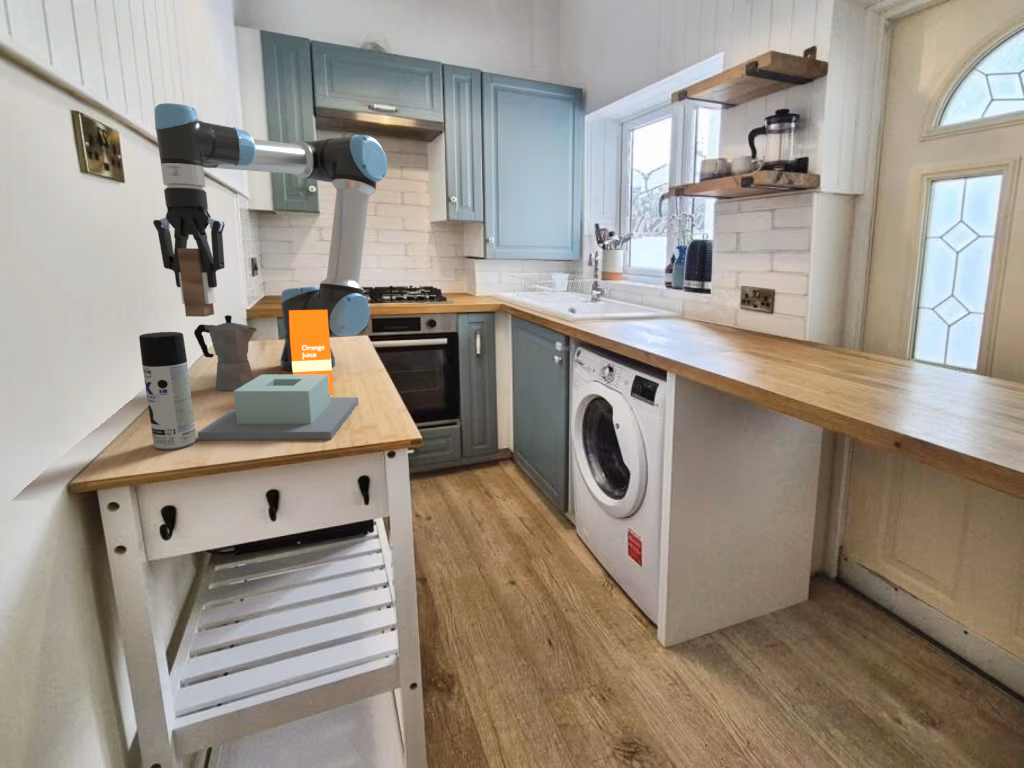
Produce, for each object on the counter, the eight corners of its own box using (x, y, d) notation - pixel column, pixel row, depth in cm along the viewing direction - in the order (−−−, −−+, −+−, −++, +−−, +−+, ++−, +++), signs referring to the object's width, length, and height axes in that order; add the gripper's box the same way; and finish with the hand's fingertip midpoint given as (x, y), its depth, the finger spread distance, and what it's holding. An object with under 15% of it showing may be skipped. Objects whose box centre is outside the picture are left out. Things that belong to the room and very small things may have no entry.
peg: (195, 314, 123) (187, 248, 119) (214, 314, 123) (206, 248, 119) (186, 316, 119) (177, 248, 115) (205, 316, 119) (197, 248, 115)
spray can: (151, 442, 101) (134, 333, 96) (193, 435, 106) (179, 330, 101) (157, 453, 96) (140, 338, 92) (201, 445, 101) (187, 334, 96)
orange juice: (296, 389, 140) (289, 308, 135) (333, 386, 143) (327, 307, 138) (294, 396, 133) (287, 312, 128) (333, 394, 135) (328, 311, 131)
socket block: (250, 403, 126) (247, 369, 124) (358, 403, 128) (356, 369, 126) (198, 440, 103) (193, 398, 101) (331, 439, 104) (328, 398, 102)
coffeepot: (270, 382, 146) (263, 313, 141) (252, 391, 136) (245, 318, 132) (211, 381, 146) (203, 312, 142) (190, 390, 137) (180, 317, 133)
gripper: (130, 185, 110) (147, 304, 116) (219, 187, 111) (231, 305, 117) (152, 189, 118) (167, 301, 123) (235, 190, 118) (246, 301, 124)
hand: (198, 302), depth 120 cm, fingers closed on peg, 4 cm apart
